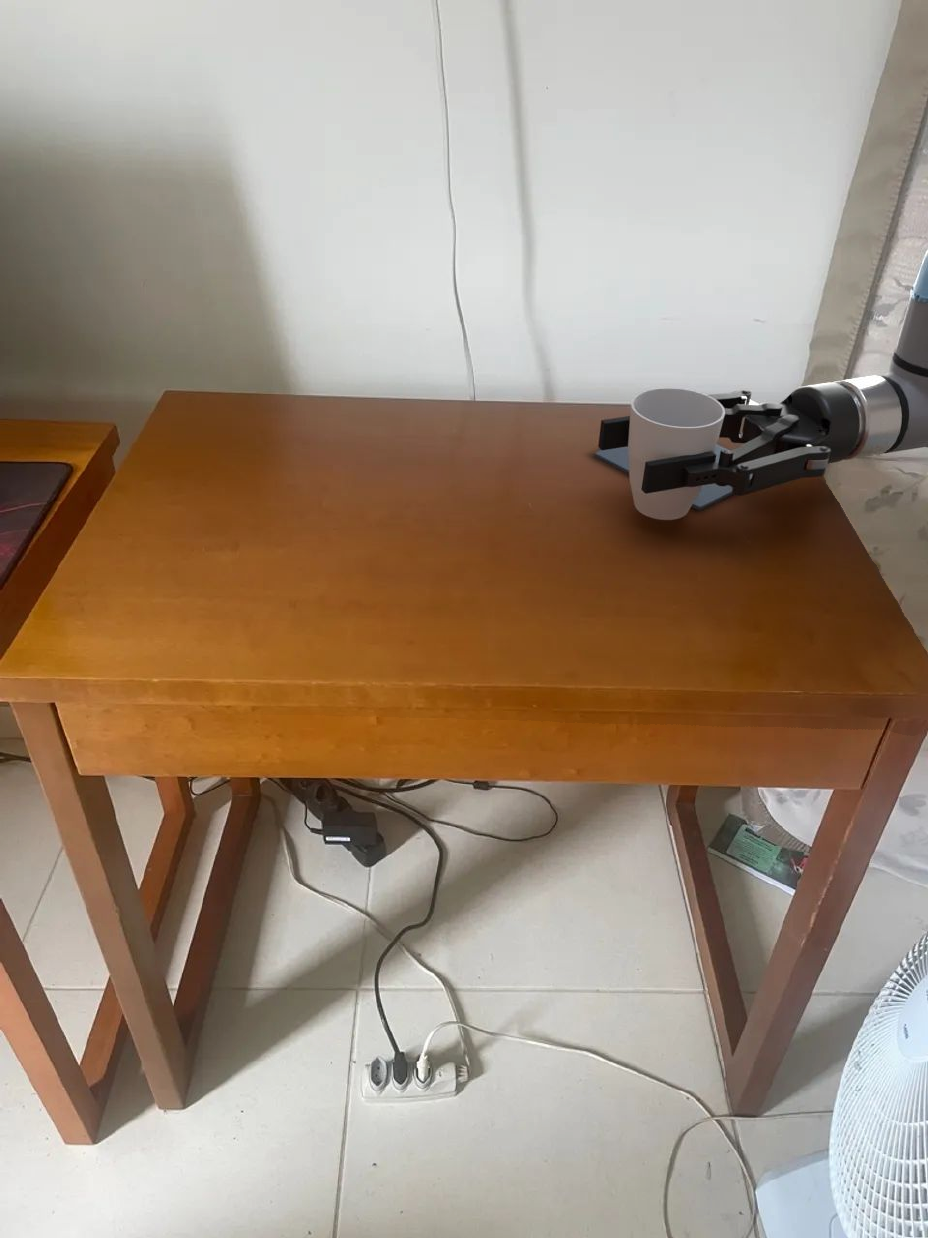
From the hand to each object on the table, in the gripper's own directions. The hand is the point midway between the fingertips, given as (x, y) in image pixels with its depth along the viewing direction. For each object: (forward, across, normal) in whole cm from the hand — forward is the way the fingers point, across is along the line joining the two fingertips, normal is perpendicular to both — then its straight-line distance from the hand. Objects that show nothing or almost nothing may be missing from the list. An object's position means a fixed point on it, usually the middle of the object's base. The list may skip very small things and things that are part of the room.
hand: (623, 455), depth 87 cm
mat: (-13, +9, -8) cm, 17 cm away
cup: (-5, 0, -6) cm, 8 cm away
